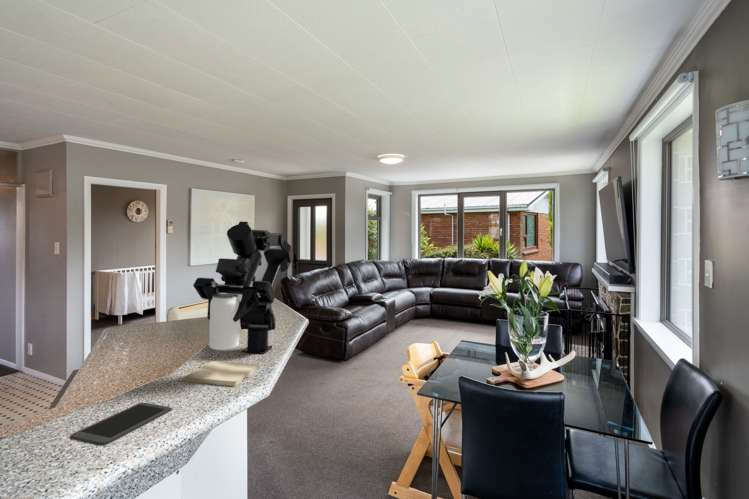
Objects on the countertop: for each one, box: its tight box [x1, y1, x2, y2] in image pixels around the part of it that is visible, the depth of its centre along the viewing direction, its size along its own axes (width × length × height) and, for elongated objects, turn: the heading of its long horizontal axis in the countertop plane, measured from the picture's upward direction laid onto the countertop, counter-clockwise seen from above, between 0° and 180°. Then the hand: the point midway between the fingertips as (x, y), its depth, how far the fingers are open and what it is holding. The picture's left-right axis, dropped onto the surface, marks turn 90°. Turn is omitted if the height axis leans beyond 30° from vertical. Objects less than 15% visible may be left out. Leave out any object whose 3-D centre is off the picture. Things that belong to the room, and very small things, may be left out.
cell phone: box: [70, 402, 173, 446], centre depth 68 cm, size 7×14×1 cm, turn 164°
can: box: [208, 293, 241, 352], centre depth 92 cm, size 6×6×12 cm
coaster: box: [183, 360, 260, 387], centre depth 92 cm, size 12×12×1 cm
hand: (221, 320), depth 91 cm, fingers closed on can, 6 cm apart
